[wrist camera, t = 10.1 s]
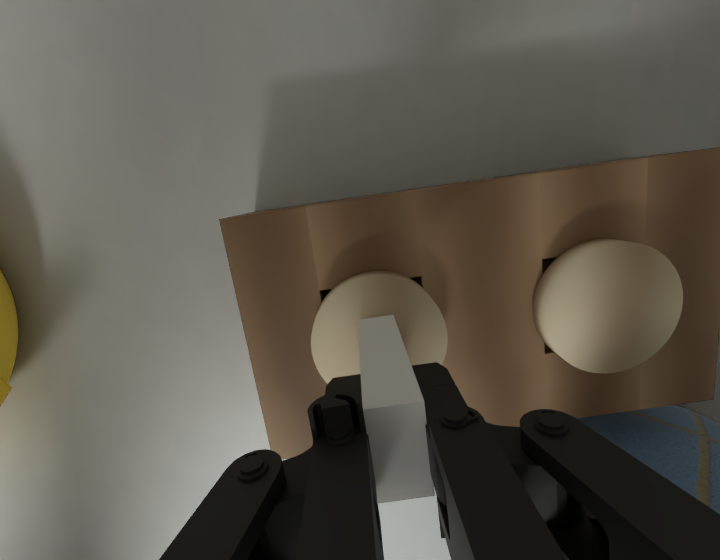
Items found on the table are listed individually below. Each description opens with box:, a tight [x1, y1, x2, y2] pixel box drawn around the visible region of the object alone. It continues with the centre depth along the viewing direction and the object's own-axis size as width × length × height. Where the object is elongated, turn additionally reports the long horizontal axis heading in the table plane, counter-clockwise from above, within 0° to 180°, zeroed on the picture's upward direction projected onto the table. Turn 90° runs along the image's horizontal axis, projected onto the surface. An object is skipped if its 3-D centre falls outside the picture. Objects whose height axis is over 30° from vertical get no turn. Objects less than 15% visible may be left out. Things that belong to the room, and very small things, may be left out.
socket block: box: [219, 147, 720, 459], centre depth 20 cm, size 22×12×6 cm, turn 98°
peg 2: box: [533, 238, 683, 374], centre depth 19 cm, size 6×6×7 cm
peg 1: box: [311, 271, 448, 384], centre depth 19 cm, size 6×6×7 cm
